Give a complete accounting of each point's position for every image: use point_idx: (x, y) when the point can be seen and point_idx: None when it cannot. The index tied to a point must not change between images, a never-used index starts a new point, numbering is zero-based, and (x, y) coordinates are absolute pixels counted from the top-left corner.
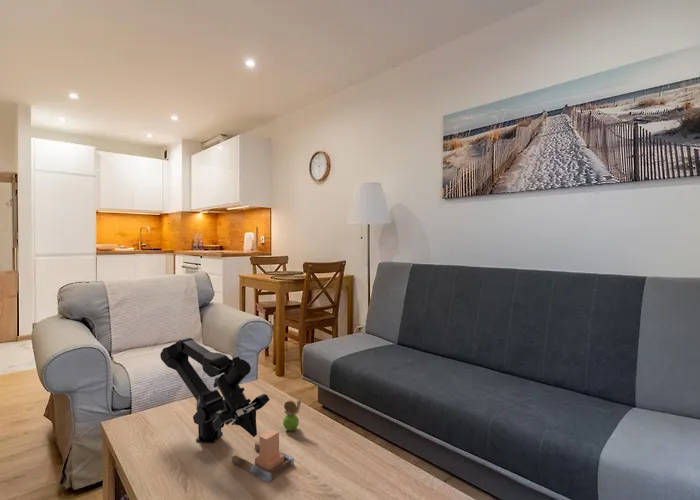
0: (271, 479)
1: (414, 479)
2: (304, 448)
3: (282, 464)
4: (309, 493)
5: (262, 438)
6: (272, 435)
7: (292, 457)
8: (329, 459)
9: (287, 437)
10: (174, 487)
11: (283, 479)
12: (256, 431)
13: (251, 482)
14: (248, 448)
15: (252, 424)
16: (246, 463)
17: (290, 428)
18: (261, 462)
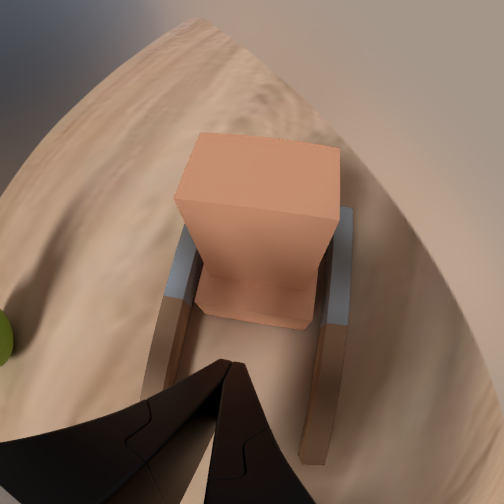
0: None
1: (178, 35)
2: (96, 226)
3: None
4: (311, 110)
5: (337, 190)
6: (268, 139)
7: None
8: (143, 133)
9: (45, 330)
10: (491, 475)
11: None
12: (211, 366)
13: (380, 279)
14: None
15: (195, 427)
16: (337, 357)
17: (9, 327)
18: (316, 271)
